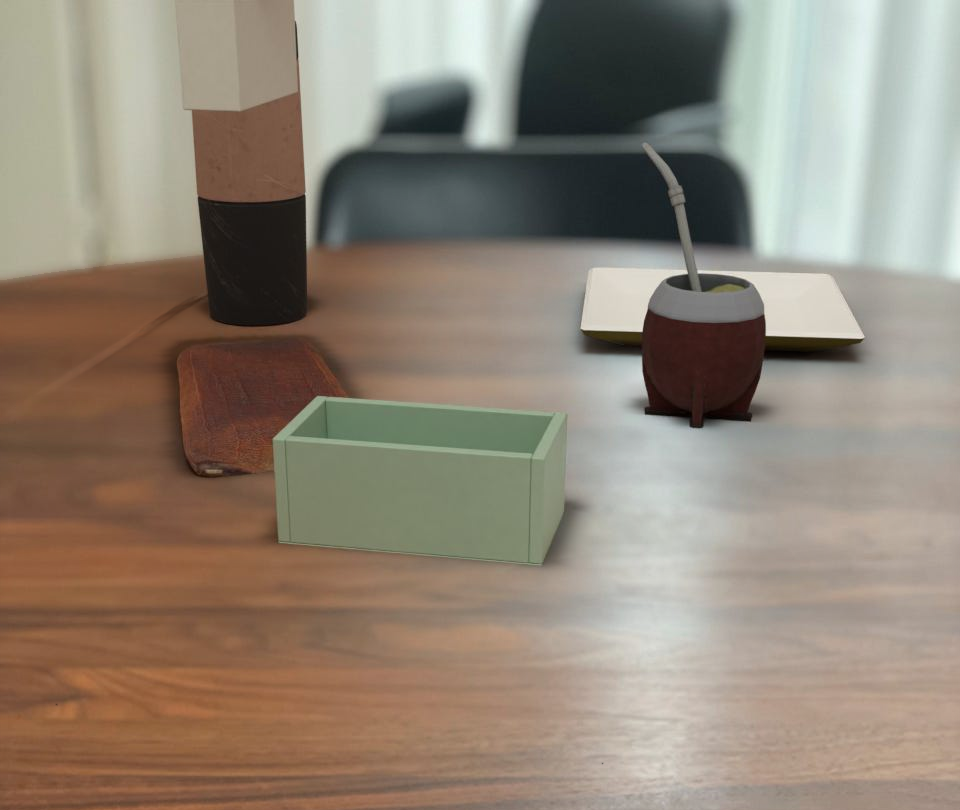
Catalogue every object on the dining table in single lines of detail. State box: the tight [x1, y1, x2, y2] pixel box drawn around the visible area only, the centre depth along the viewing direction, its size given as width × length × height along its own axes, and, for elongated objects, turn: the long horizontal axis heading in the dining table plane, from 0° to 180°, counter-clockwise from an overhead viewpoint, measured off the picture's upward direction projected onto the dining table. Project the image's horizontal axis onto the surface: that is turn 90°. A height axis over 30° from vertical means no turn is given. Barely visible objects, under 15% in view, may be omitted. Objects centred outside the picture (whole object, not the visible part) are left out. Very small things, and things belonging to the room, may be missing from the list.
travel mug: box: [191, 20, 308, 327], centre depth 106 cm, size 8×8×20 cm
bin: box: [273, 396, 568, 566], centre depth 70 cm, size 12×7×6 cm, turn 78°
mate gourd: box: [641, 141, 766, 429], centre depth 85 cm, size 8×8×15 cm
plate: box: [580, 267, 866, 353], centre depth 107 cm, size 19×19×2 cm
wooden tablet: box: [176, 337, 349, 478], centre depth 89 cm, size 27×10×2 cm, turn 12°
